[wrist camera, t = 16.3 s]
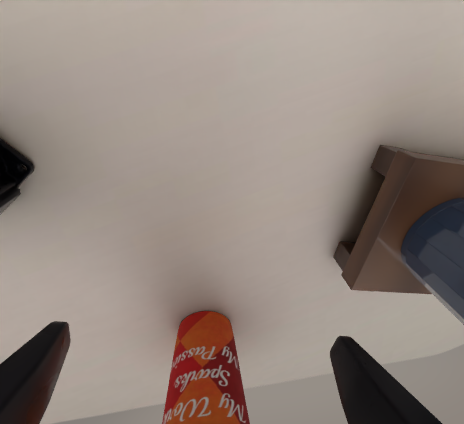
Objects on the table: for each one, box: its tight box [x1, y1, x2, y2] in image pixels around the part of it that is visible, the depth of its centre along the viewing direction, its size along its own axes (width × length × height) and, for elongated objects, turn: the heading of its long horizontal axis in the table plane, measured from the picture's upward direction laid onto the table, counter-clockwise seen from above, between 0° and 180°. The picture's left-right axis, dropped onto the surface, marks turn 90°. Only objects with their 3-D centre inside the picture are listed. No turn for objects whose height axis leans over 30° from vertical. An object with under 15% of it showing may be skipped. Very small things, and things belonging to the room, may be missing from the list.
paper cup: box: [162, 311, 250, 424], centre depth 22 cm, size 8×8×14 cm
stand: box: [334, 145, 464, 294], centre depth 21 cm, size 11×11×4 cm
